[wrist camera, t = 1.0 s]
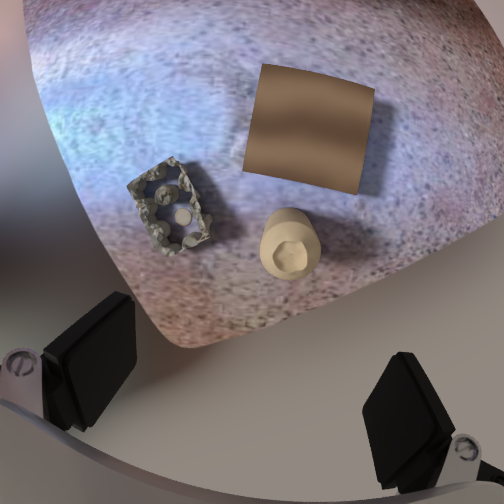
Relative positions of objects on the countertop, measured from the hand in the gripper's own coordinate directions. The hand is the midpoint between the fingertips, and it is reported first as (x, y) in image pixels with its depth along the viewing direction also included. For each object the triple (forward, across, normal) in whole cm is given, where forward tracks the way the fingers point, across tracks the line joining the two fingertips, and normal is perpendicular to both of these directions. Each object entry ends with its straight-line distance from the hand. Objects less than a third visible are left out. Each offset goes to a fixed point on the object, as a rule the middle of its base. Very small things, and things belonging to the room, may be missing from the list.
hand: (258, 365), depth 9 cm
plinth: (+24, -1, -12) cm, 27 cm away
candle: (+25, -1, 0) cm, 25 cm away
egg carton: (+25, +13, 0) cm, 28 cm away
